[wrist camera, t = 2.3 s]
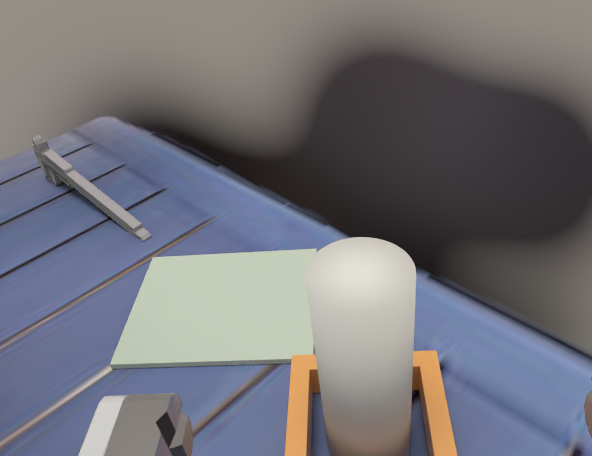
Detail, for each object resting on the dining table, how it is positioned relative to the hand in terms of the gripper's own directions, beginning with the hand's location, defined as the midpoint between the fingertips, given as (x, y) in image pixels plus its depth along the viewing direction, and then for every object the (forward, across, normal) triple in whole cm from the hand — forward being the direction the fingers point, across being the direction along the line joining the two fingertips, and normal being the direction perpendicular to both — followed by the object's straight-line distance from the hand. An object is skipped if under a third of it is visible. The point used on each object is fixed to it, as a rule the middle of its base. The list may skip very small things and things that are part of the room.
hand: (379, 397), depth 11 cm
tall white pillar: (+12, 0, +21) cm, 24 cm away
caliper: (+41, +28, +20) cm, 53 cm away
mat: (+24, +11, +20) cm, 34 cm away
